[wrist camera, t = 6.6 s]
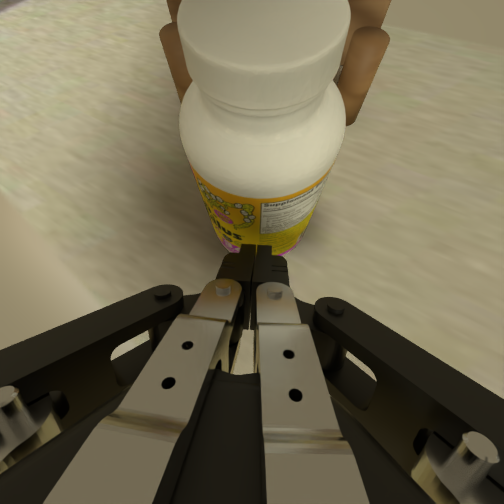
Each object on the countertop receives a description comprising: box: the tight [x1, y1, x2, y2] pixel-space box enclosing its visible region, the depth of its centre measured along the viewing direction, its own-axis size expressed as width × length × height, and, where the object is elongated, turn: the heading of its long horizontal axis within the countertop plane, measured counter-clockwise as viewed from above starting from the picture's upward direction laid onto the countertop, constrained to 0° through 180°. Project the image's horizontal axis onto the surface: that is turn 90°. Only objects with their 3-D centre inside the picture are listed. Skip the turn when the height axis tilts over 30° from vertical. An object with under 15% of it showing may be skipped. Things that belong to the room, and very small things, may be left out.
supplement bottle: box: [177, 0, 351, 256], centre depth 13 cm, size 7×7×13 cm
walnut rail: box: [167, 0, 391, 65], centre depth 21 cm, size 18×2×8 cm, turn 85°
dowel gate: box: [159, 22, 390, 126], centre depth 20 cm, size 15×2×6 cm, turn 85°
